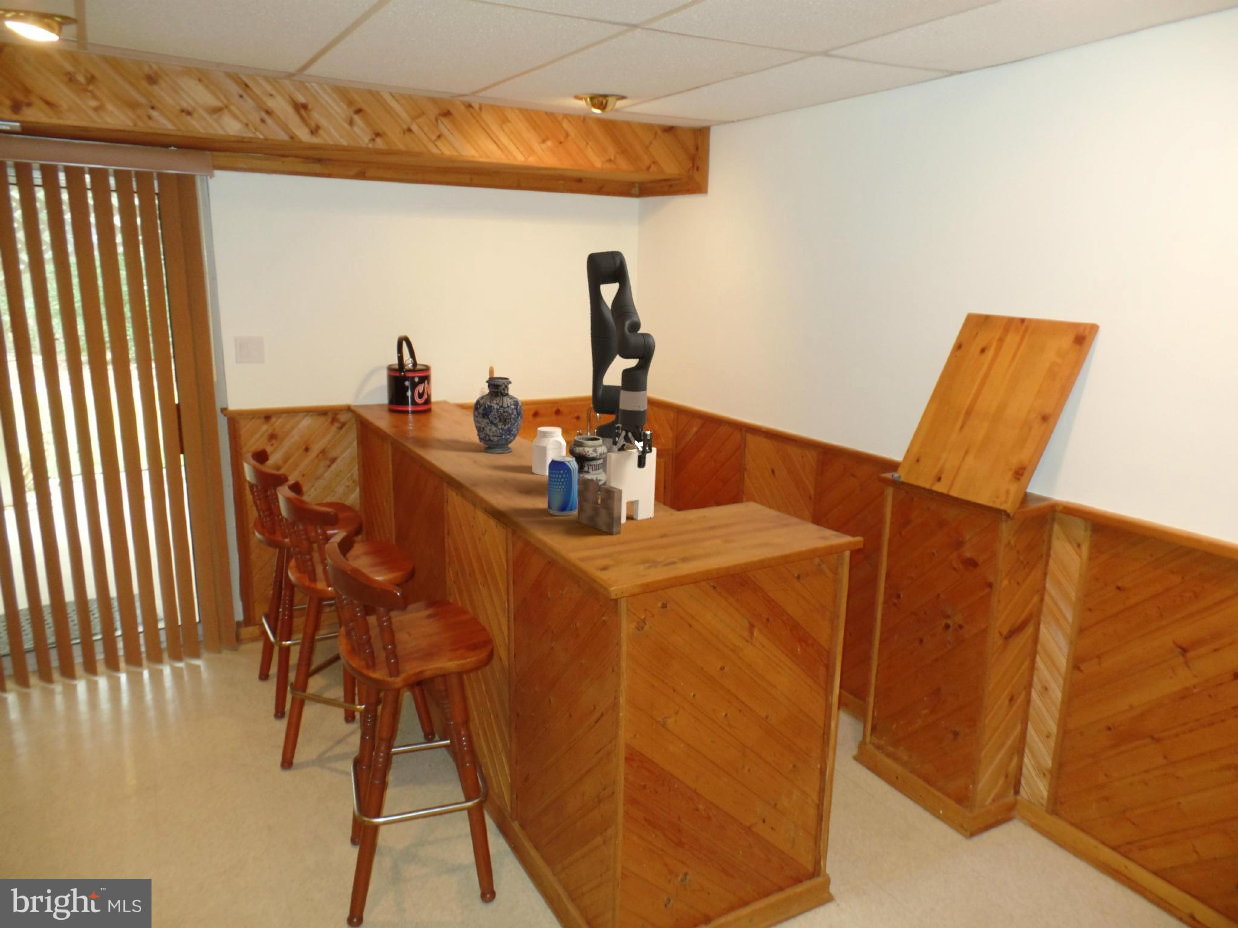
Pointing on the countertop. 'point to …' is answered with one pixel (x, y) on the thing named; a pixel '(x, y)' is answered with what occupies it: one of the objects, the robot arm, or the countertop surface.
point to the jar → (547, 448)
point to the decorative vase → (497, 416)
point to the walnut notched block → (599, 505)
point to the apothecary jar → (589, 457)
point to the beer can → (562, 485)
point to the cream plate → (633, 481)
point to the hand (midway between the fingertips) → (631, 465)
